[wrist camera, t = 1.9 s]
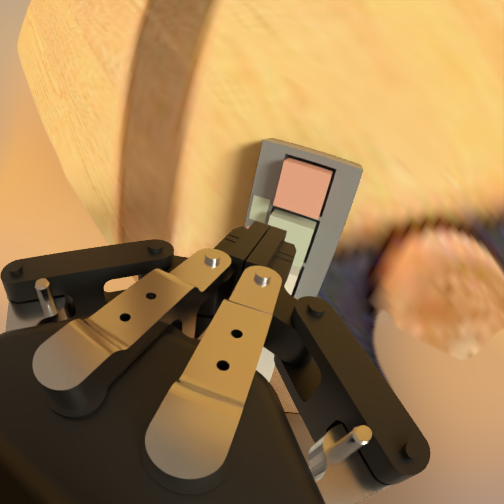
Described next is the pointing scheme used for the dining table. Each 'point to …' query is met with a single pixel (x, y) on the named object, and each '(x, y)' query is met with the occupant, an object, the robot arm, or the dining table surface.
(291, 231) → the key sage
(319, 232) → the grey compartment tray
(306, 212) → the key coral
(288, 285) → the key ivory
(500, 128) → the dining table surface
